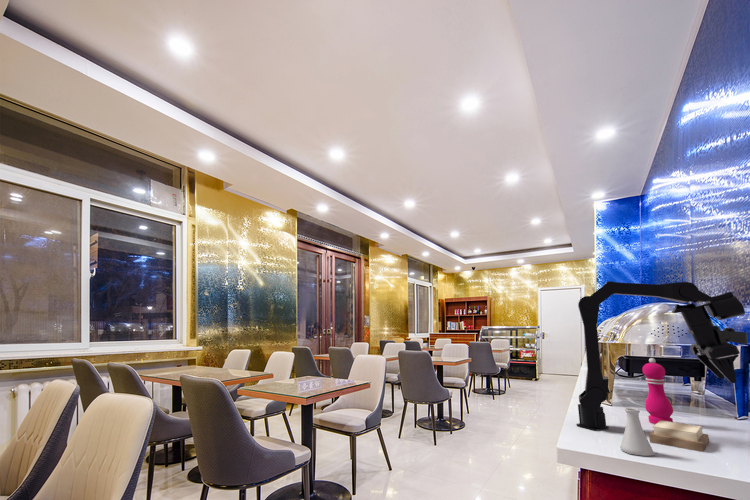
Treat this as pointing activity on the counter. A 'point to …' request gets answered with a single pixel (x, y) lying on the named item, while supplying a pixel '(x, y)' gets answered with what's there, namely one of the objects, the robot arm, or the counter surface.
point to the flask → (635, 435)
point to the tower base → (680, 442)
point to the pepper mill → (656, 393)
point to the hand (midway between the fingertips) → (727, 380)
